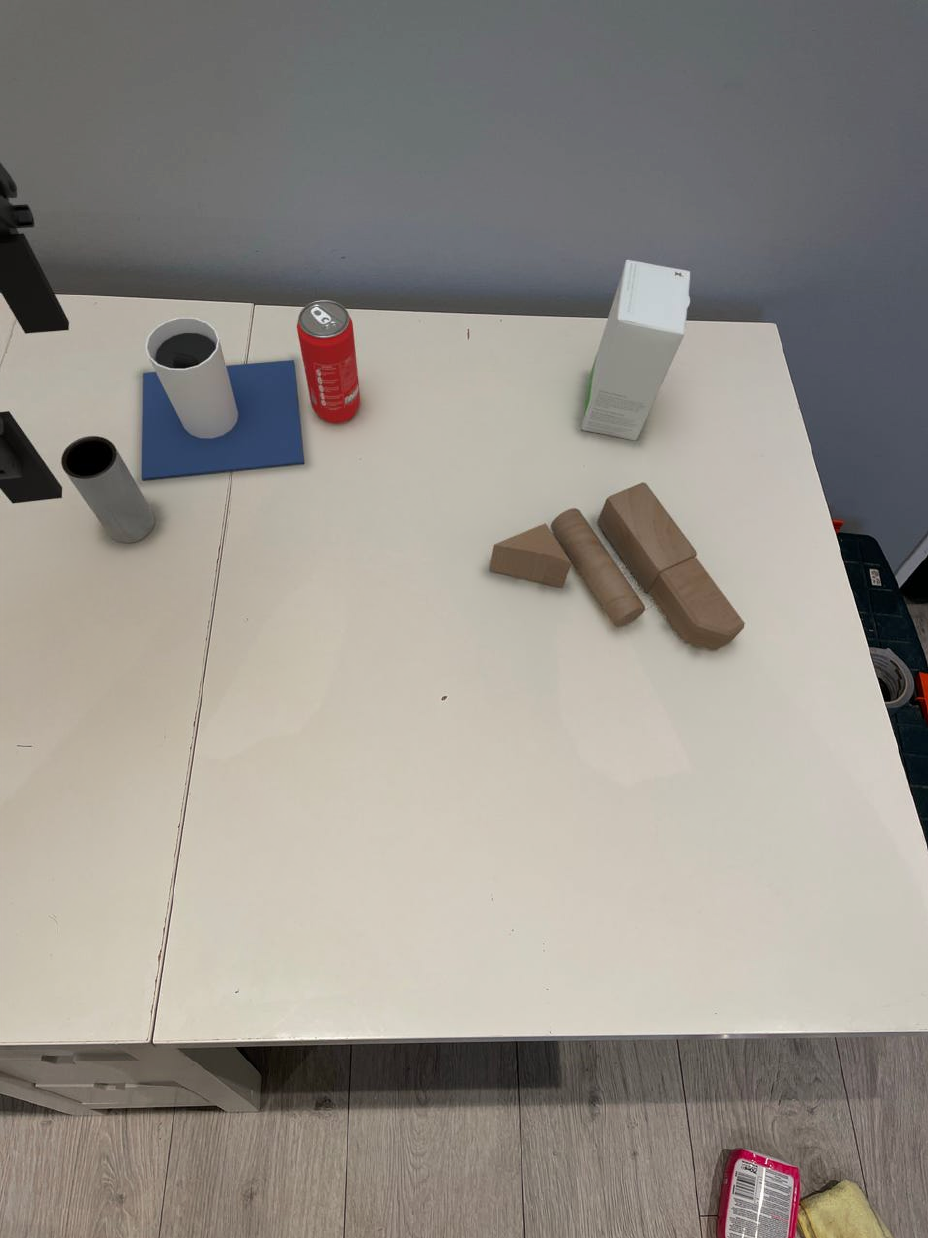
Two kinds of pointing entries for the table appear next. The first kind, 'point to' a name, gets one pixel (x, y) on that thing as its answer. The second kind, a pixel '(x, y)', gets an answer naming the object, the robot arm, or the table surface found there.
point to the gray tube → (108, 488)
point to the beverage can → (329, 360)
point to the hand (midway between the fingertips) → (43, 406)
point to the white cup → (194, 375)
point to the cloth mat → (251, 444)
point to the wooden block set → (648, 554)
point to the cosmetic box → (636, 348)
